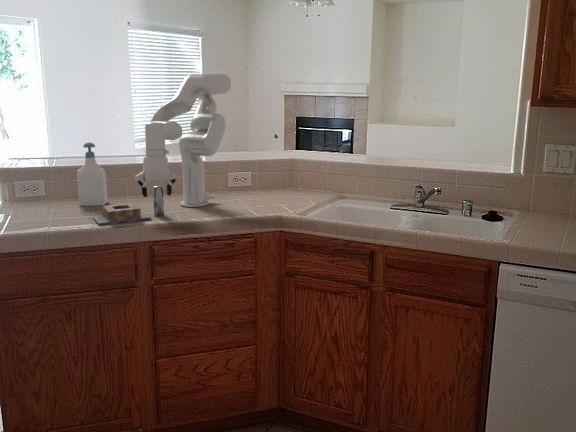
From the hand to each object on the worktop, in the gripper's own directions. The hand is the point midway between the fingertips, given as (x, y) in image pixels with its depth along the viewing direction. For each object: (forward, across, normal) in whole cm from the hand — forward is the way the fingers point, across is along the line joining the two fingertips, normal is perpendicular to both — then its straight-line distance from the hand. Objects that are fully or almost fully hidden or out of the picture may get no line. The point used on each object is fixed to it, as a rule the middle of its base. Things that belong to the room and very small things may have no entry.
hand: (157, 195), depth 221 cm
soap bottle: (+8, +18, -37) cm, 42 cm away
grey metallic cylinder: (+8, -1, 0) cm, 8 cm away
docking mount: (+9, +14, 0) cm, 17 cm away
